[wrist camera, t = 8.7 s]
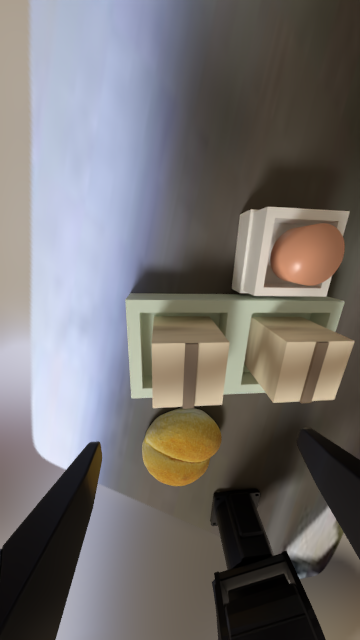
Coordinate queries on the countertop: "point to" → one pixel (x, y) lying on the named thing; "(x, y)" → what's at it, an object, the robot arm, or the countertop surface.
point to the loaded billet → (296, 358)
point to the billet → (188, 362)
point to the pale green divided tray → (228, 317)
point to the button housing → (259, 240)
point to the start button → (308, 254)
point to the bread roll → (180, 446)
